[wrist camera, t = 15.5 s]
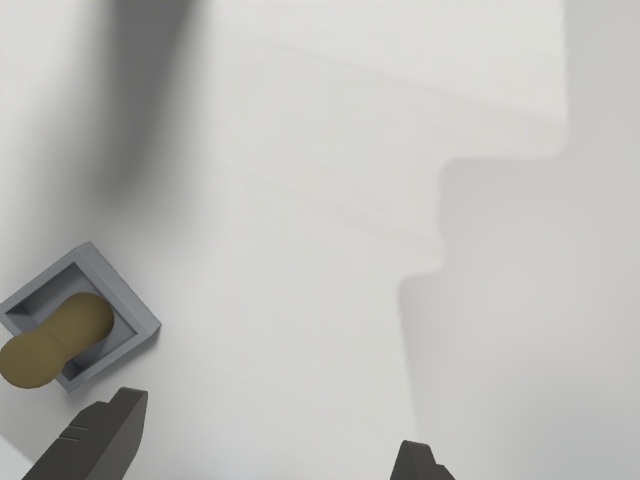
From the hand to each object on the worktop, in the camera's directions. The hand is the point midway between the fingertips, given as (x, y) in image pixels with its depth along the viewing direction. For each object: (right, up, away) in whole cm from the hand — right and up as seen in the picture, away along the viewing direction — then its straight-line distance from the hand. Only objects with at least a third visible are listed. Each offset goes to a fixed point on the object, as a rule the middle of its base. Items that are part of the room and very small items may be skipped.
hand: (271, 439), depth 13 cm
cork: (-25, -3, +34) cm, 42 cm away
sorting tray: (-25, -2, +34) cm, 42 cm away
